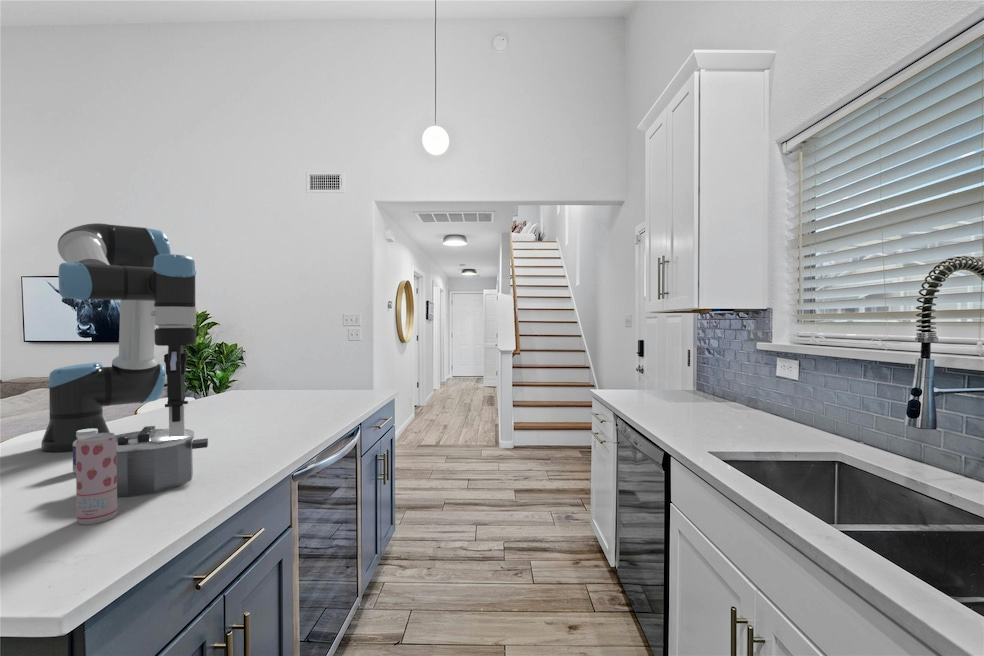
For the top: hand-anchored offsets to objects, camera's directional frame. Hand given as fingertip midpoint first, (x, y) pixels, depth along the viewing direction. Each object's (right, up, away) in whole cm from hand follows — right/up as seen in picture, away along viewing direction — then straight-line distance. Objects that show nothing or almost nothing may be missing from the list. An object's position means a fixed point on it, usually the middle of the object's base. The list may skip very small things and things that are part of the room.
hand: (177, 435), depth 105 cm
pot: (-8, -11, +2) cm, 13 cm away
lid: (-8, -2, +2) cm, 8 cm away
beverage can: (-3, -11, -17) cm, 21 cm away
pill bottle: (-28, -11, +11) cm, 32 cm away
